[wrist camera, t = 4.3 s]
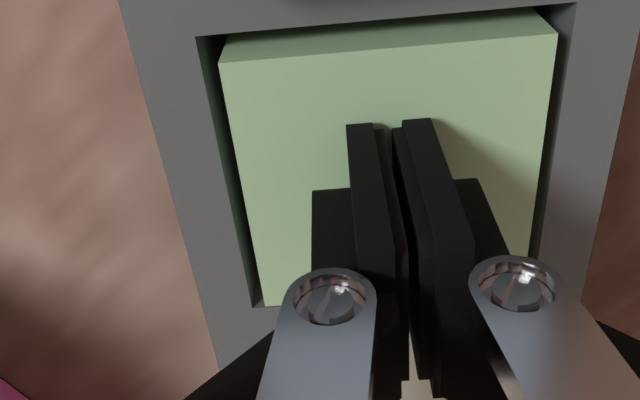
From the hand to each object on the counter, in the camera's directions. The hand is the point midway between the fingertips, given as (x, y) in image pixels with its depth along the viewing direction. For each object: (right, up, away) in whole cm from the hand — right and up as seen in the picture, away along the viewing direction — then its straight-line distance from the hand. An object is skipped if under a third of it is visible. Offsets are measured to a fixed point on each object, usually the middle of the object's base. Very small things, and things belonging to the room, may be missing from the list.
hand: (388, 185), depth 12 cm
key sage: (0, +2, +3) cm, 3 cm away
